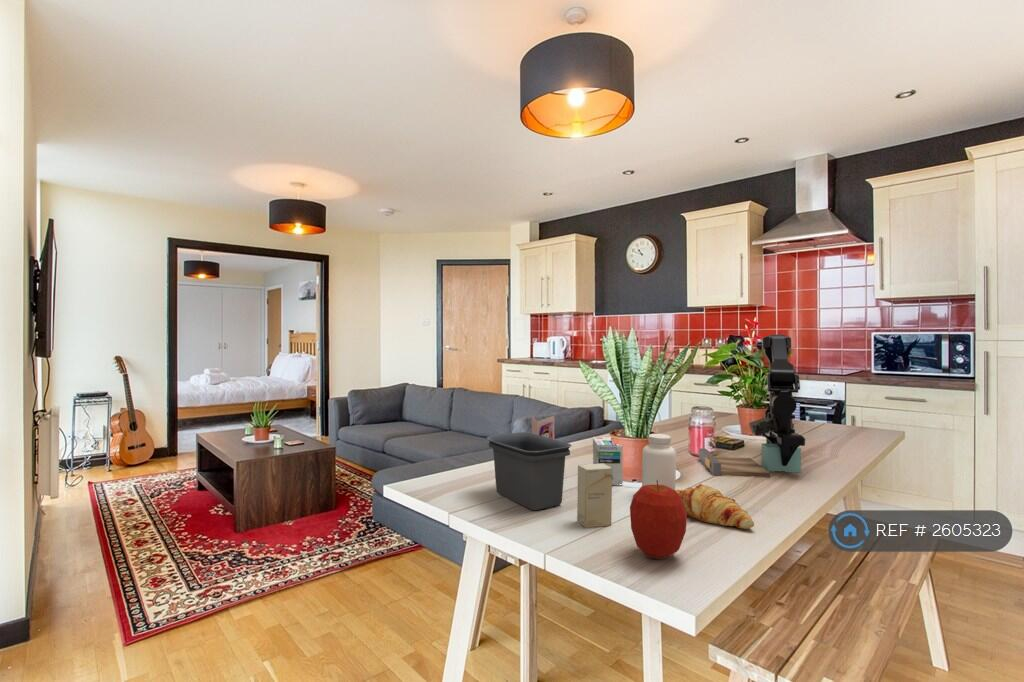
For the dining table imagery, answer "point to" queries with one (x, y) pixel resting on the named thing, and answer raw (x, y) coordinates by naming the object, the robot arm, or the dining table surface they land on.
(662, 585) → the dining table surface
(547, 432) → the pink printed box
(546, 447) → the storage bin
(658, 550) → the apple
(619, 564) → the dining table surface
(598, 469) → the skincare box
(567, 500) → the dining table surface
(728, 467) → the shelf board
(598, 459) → the light bulb box
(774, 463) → the teal carton
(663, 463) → the pill bottle
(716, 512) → the croissant
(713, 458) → the price rail
